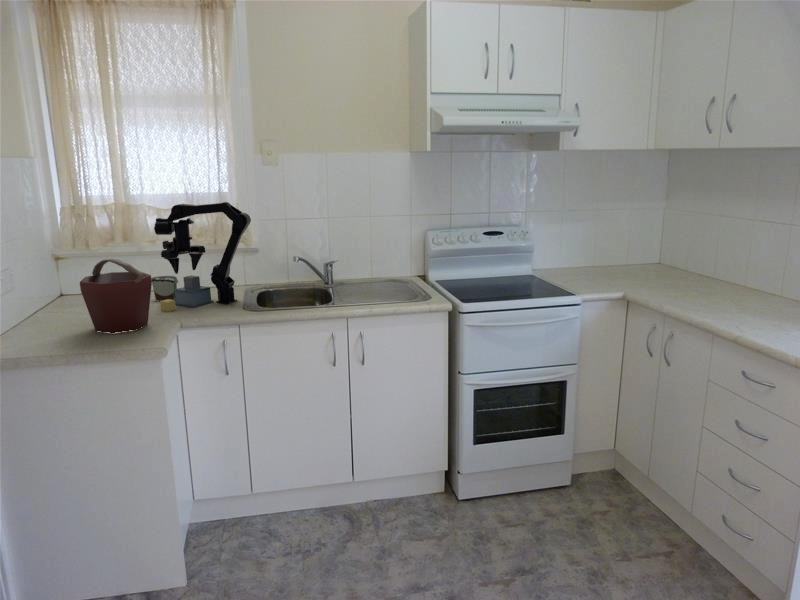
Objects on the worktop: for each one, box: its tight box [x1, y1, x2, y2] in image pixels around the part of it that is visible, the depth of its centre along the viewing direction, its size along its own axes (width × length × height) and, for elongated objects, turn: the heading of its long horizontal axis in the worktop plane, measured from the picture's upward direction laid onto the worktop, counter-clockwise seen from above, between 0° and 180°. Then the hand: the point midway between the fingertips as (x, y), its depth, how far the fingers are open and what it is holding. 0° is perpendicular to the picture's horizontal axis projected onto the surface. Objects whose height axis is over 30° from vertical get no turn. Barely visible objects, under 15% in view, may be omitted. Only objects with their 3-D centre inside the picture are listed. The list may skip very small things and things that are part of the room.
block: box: [159, 299, 177, 313], centre depth 232 cm, size 4×4×4 cm
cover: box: [175, 274, 212, 306], centre depth 242 cm, size 10×10×11 cm
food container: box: [151, 275, 179, 302], centre depth 250 cm, size 12×6×10 cm, turn 74°
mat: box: [175, 299, 215, 309], centre depth 244 cm, size 12×12×1 cm
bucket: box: [79, 258, 153, 333], centre depth 205 cm, size 24×22×25 cm
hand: (185, 271), depth 242 cm, fingers open, 9 cm apart
